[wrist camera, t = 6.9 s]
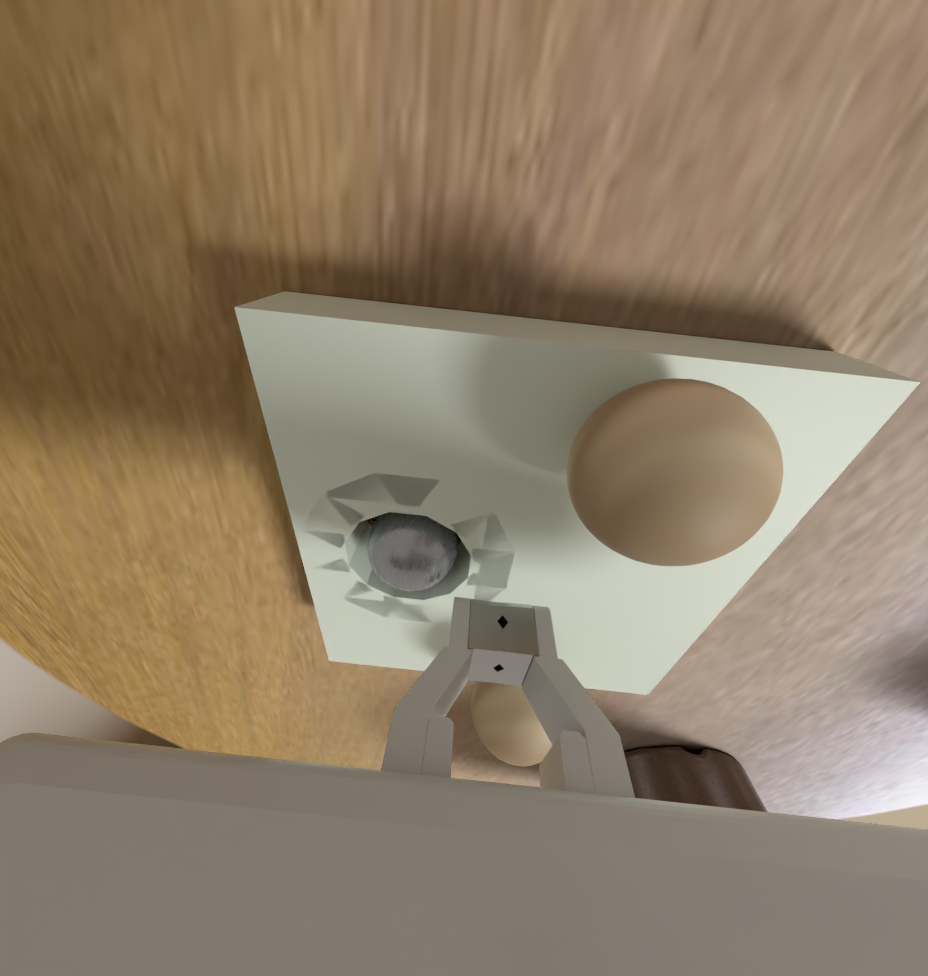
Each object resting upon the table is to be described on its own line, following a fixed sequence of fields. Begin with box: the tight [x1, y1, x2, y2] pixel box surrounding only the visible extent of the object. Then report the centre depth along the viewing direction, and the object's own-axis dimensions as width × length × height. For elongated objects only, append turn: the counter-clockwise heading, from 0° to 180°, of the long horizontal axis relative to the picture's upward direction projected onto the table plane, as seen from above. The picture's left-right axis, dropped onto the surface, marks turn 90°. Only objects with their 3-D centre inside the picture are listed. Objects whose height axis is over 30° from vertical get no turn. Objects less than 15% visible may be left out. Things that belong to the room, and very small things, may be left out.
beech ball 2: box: [567, 378, 783, 566], centre depth 8 cm, size 4×4×4 cm
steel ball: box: [367, 512, 457, 591], centre depth 14 cm, size 3×3×3 cm
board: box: [234, 291, 920, 695], centre depth 14 cm, size 16×16×2 cm
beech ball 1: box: [471, 681, 552, 766], centre depth 15 cm, size 4×4×4 cm
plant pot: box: [624, 747, 767, 812], centre depth 24 cm, size 16×16×16 cm
